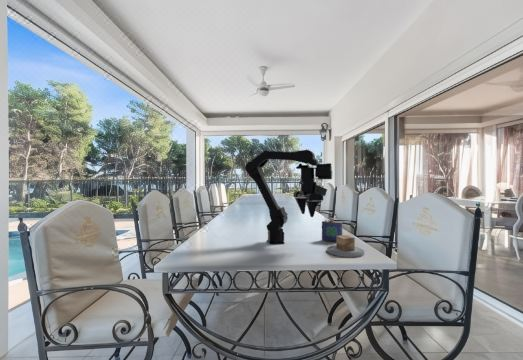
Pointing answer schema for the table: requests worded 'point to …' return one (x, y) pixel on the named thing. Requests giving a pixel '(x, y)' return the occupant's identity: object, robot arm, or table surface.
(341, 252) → the slate plate
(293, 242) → the table surface
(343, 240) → the walnut cube
